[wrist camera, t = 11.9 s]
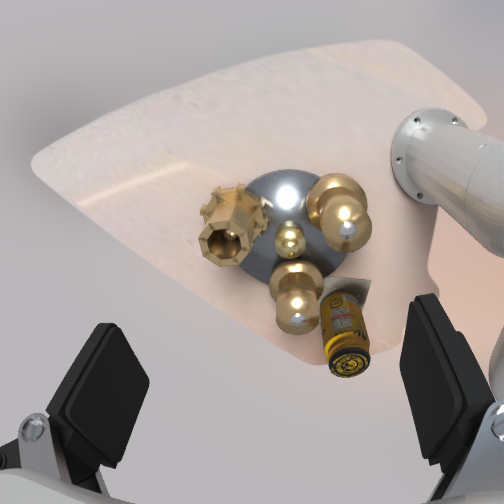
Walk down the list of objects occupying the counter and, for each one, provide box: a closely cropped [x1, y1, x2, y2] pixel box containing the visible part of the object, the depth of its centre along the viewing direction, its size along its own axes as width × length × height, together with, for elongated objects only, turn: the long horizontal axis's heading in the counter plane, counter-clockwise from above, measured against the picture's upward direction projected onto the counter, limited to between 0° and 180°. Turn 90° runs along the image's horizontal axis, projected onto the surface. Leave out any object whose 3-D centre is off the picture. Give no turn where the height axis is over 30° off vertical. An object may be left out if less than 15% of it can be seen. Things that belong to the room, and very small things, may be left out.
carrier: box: [223, 169, 372, 335], centre depth 37 cm, size 18×19×9 cm
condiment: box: [317, 277, 371, 378], centre depth 40 cm, size 7×8×12 cm
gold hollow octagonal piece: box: [198, 183, 268, 267], centre depth 35 cm, size 8×8×8 cm
